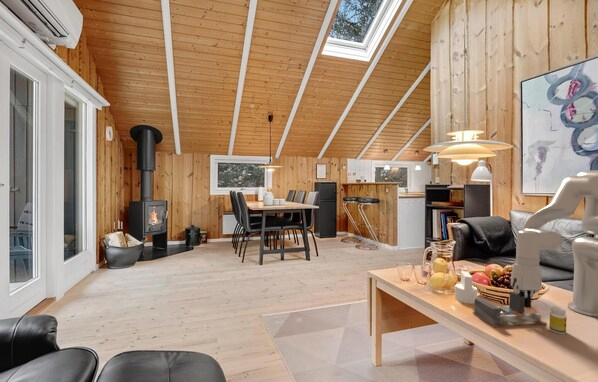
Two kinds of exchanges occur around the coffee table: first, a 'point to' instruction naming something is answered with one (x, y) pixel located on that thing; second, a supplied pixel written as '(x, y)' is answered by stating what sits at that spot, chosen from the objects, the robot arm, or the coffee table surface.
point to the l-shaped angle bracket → (514, 305)
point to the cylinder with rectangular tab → (465, 289)
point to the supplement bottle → (558, 320)
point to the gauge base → (504, 316)
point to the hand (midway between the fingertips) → (525, 306)
